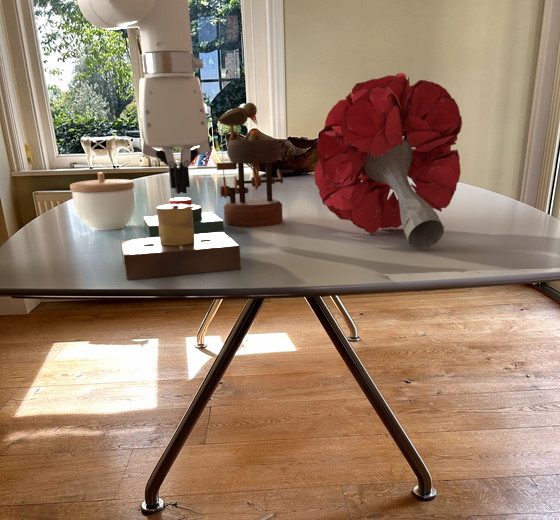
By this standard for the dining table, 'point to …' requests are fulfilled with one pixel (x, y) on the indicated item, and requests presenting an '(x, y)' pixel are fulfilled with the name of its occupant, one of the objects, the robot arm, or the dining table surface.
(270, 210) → the wooden bird automaton
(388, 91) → the bouquet
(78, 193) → the trinket box
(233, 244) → the panel
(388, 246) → the dining table surface
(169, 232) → the golden brown short cylinder
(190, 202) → the button
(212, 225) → the button block
